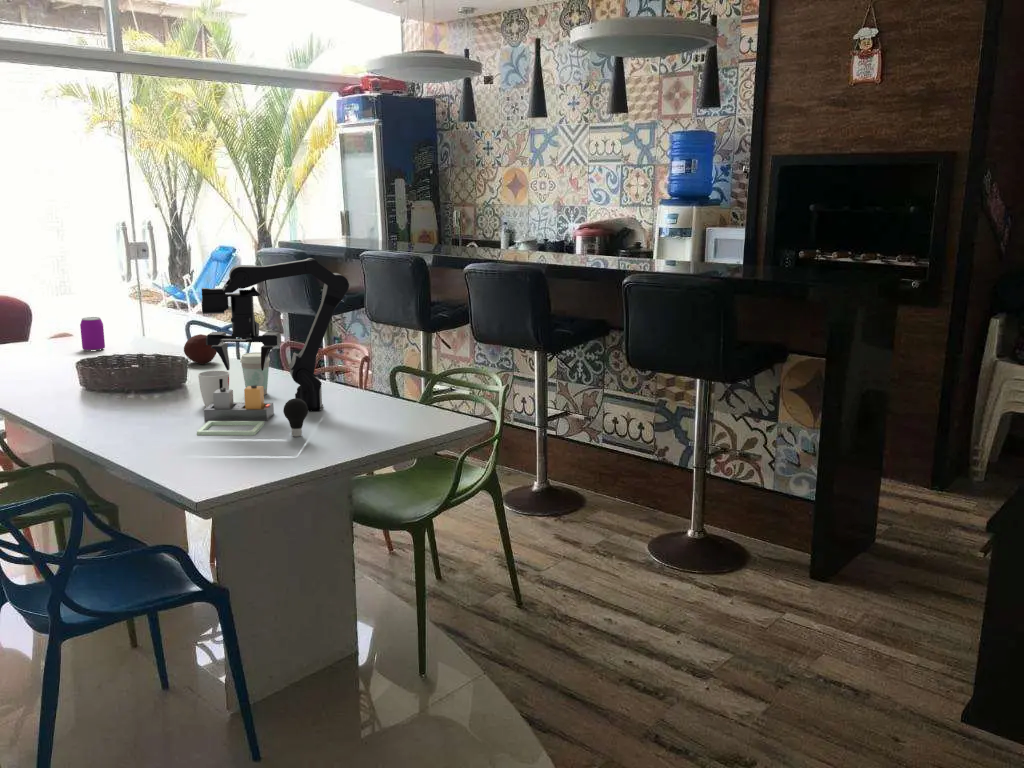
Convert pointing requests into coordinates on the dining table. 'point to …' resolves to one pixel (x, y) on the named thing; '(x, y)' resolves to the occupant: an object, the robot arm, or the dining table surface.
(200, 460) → the dining table surface
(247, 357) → the coffee cup
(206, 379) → the cup
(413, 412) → the dining table surface
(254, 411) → the strip
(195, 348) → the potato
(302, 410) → the light bulb
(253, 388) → the plug
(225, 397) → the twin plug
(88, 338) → the beverage can
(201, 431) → the tray
